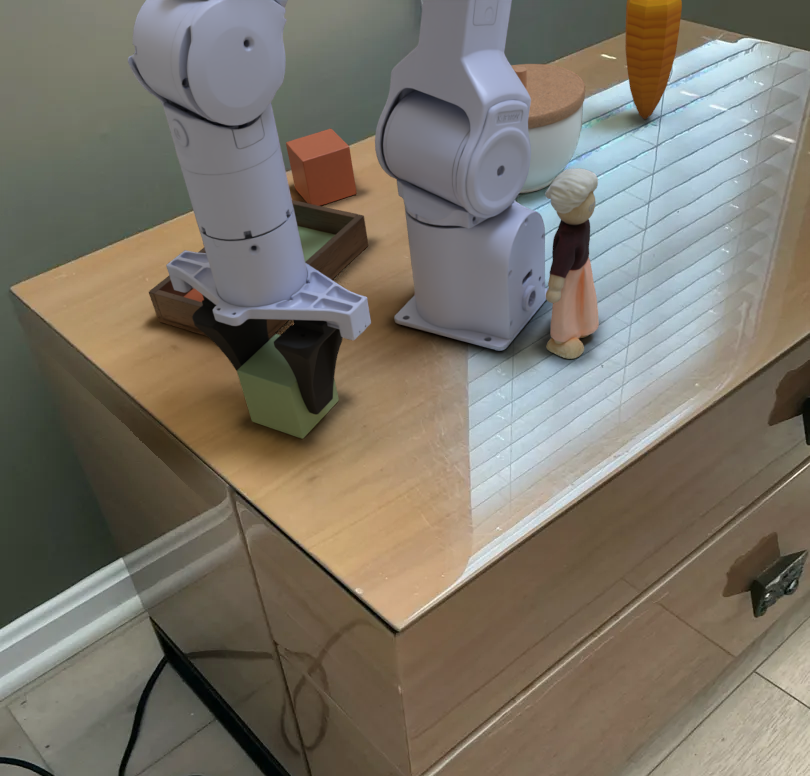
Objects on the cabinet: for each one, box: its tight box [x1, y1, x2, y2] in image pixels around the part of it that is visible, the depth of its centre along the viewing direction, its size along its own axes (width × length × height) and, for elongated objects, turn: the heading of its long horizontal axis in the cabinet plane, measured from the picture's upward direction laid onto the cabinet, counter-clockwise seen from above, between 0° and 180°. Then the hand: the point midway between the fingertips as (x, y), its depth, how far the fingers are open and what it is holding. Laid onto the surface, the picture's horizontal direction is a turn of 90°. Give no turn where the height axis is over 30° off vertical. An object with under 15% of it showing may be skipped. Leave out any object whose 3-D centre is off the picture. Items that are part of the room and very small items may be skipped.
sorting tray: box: [148, 199, 369, 339], centre depth 78 cm, size 10×16×3 cm, turn 149°
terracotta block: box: [285, 128, 358, 206], centre depth 86 cm, size 4×4×4 cm
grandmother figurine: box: [544, 167, 600, 360], centre depth 65 cm, size 8×4×13 cm, turn 168°
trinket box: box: [510, 63, 586, 194], centre depth 82 cm, size 11×11×9 cm
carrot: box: [624, 0, 683, 120], centre depth 85 cm, size 5×5×15 cm
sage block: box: [236, 333, 340, 440], centre depth 65 cm, size 4×4×4 cm
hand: (291, 395), depth 66 cm, fingers closed on sage block, 4 cm apart
